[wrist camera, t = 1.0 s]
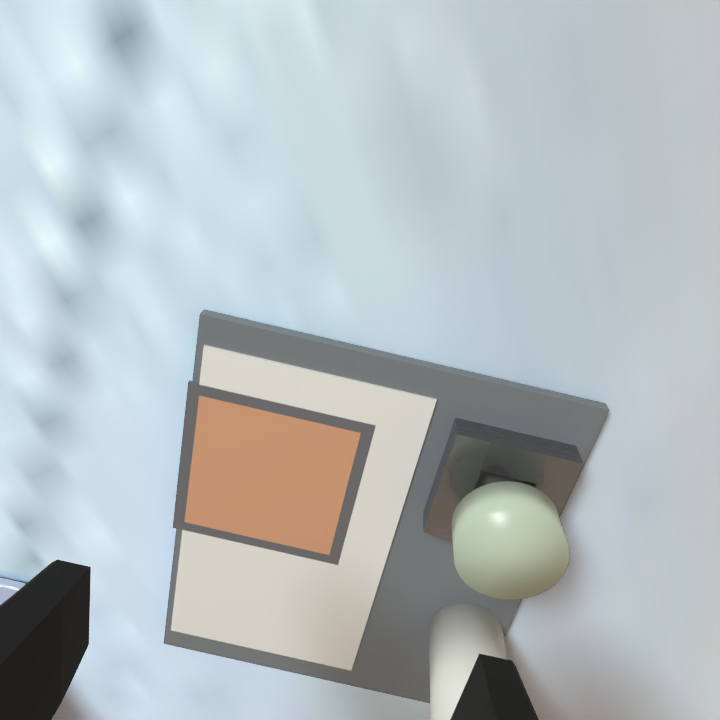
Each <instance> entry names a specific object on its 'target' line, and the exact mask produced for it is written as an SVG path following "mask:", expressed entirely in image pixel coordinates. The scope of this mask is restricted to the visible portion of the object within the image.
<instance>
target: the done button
mask: <svg viewBox="0 0 720 720" xmlns="http://www.w3.org/2000/svg"><path fill="white" fill-rule="evenodd" d="M451 525H452V539H453V553H454V563H455V568H456V570H457V572H458V574H459V576H460V577H461V579H462V580H463V581H464V582H465V583H466V584H467V585H468V586H469V587H471V588H472V589H473V590H475V591H477V592H479V593H481V594H483V595H486V596H489V597H492V598H497V599H506V600H515V599H523V598H528V597H532V596H535V595H538V594H540V593H542V592H544V591H546V590H548V589H549V588H551V587H552V586H553V585H555V584H556V583H557V582H558V581H559V580H560V578H561V577H562V576H563V574H564V573H565V571H566V569H567V566H568V563H569V547H568V544H567V541H566V538H565V534H564V531H563V528H562V525H561V522H560V518H559V515H558V512H557V509H556V507H555V505H554V504H553V502H552V501H551V499H550V498H549V497H548V496H547V495H545V494H544V493H543V492H541V491H540V490H538V489H536V488H535V487H532V486H530V485H527V484H523V483H518V482H509V481H506V482H495V483H490V484H486V485H484V486H481V487H479V488H477V489H475V490H473V491H472V492H470V493H469V494H467V495H466V496H465V497H464V498H463V499H462V500H461V501H460V502H459V504H458V505H457V507H456V508H455V511H454V513H453V516H452V523H451Z"/></svg>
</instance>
